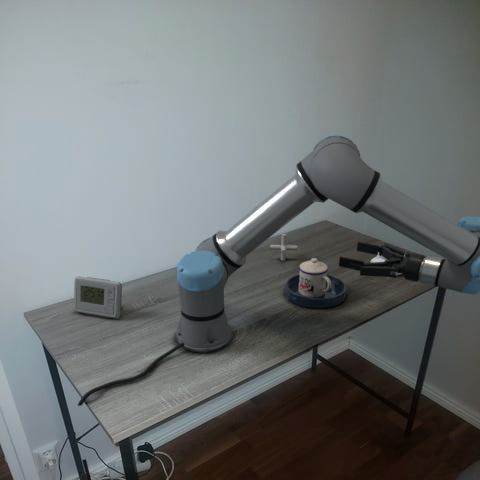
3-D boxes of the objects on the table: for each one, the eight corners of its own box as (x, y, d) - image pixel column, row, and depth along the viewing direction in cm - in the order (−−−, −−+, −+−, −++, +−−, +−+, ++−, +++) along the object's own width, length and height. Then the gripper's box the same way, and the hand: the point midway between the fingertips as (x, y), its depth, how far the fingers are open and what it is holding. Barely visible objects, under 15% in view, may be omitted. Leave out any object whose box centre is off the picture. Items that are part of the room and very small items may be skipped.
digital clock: (71, 312, 138) (64, 281, 133) (93, 300, 145) (87, 269, 139) (110, 325, 131) (104, 292, 126) (131, 311, 138) (126, 280, 132)
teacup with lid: (291, 291, 148) (293, 258, 142) (311, 283, 153) (313, 251, 147) (319, 304, 140) (322, 270, 134) (338, 295, 144) (342, 262, 138)
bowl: (337, 313, 135) (338, 303, 134) (277, 301, 142) (277, 292, 140) (350, 287, 150) (351, 278, 149) (295, 277, 157) (296, 268, 155)
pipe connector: (296, 255, 175) (297, 230, 170) (296, 265, 166) (297, 239, 161) (270, 254, 176) (271, 229, 171) (269, 264, 167) (270, 239, 162)
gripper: (406, 299, 116) (330, 280, 126) (431, 266, 133) (362, 251, 144) (411, 272, 112) (332, 255, 122) (436, 242, 130) (365, 229, 140)
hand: (348, 253), depth 133 cm, fingers open, 13 cm apart
